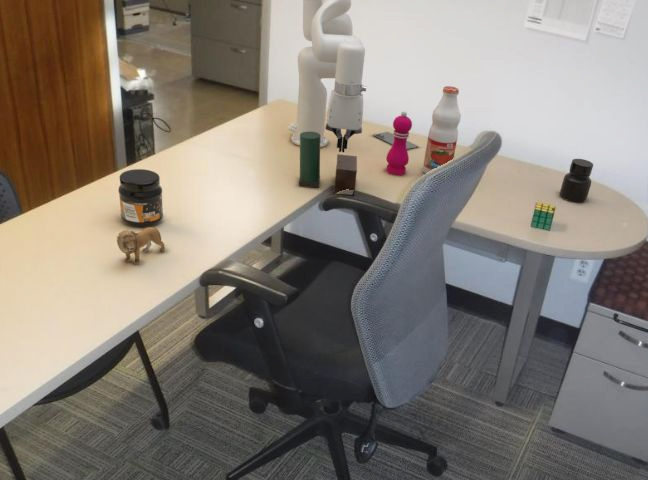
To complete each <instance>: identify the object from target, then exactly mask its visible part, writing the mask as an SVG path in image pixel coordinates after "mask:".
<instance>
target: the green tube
mask: <svg viewBox="0 0 648 480" xmlns="http://www.w3.org/2000/svg"><path fill="white" fill-rule="evenodd" d="M298 180H299V181H298V187H302V188H303V187H304V188H305V187H307V188H320V183H321V147H320V134H319V133H316V132H303V133H301V134H300V146H299V179H298Z"/></svg>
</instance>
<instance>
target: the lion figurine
mask: <svg viewBox="0 0 648 480" xmlns="http://www.w3.org/2000/svg"><path fill="white" fill-rule="evenodd" d="M152 242H153V243H154V244H155V245H158V246H160V248H159V252H161V253H164V252H165V250H166V249H165V243H164V241H162V236H161V232H160V230H159V229H158V228H157V227H154V226H150V227H144V228H143V229H142V230H140V231H139V232H135V231H134V230H123V231H121V232H119V233H118V235H117V236H116V244H117V246H118V249H119V250H120V251H121V252H122V253H123V254H125V258H124V263H125V262H126V263H128V262H130V261H131V255H132V254H134V264H135V265H140V264H141V259H140V250H141V248H143V249H142V252H144V253H146V252H148V251H150V248H151V246H152ZM144 247H145V248H144Z"/></svg>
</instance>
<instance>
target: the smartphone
mask: <svg viewBox="0 0 648 480" xmlns="http://www.w3.org/2000/svg"><path fill="white" fill-rule="evenodd" d="M372 136H373V137H375V138H377V139H379V140H381V141H383V142H385V143H387V144H389V145H392V146H393V143H394V135H393V133H391V132H389V131H385V132H380V133H375V134H373V135H372ZM416 148H419V145H417V144H414V143H412V142H410V141H408V140H406V149H407V150H411V149H416Z"/></svg>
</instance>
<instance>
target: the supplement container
mask: <svg viewBox="0 0 648 480" xmlns="http://www.w3.org/2000/svg"><path fill="white" fill-rule="evenodd" d="M119 184H120V185H119V186H118V189H117V190H118V194H119V195H118V196H119V209H120V218H121V220H122V222H123V223H125V224H126V225H128V226H131V227H134V228H147V227H154V226H156V225H158V224H160V223H161V222H162V220H164V219H163V218H164V211H163V210H164V209H163V187H162V186H161V179H160V175H159V174H158V173H157V172H155V171H153V170H150V169H144V168H143V169H142V168H136V169H129V170H125V171H123V172H122V173H121V174H120V175H119Z"/></svg>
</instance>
